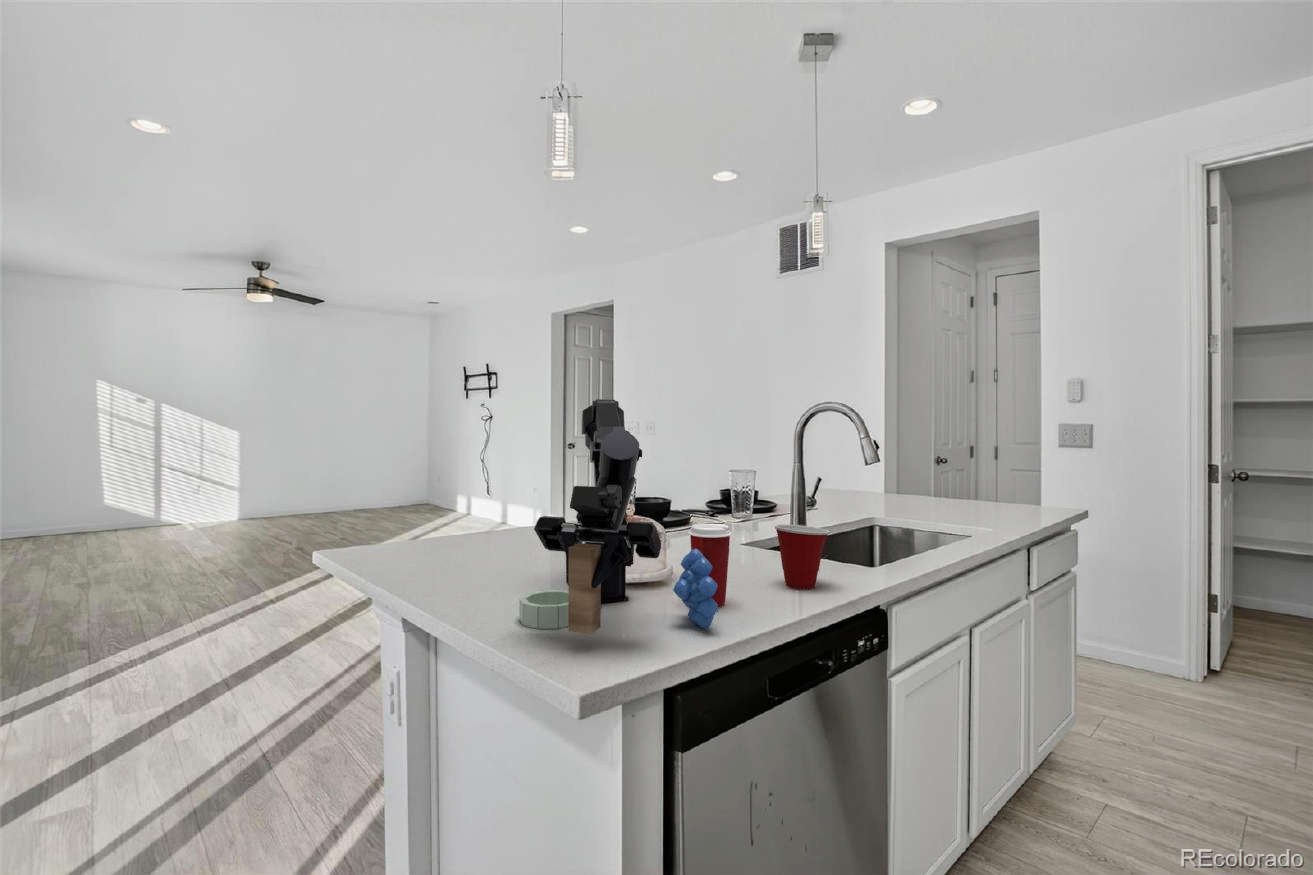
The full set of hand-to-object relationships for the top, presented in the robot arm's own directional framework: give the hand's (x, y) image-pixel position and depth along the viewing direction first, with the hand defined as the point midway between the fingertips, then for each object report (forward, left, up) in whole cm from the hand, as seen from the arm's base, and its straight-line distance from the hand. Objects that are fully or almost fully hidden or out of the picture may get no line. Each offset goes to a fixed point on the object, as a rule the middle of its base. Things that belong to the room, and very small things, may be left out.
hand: (580, 585), depth 93 cm
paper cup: (-28, -15, -10) cm, 33 cm away
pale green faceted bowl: (+1, -16, -9) cm, 19 cm away
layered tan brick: (-1, -1, -7) cm, 7 cm away
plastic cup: (-51, -20, -10) cm, 56 cm away
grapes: (-20, -5, -10) cm, 23 cm away
